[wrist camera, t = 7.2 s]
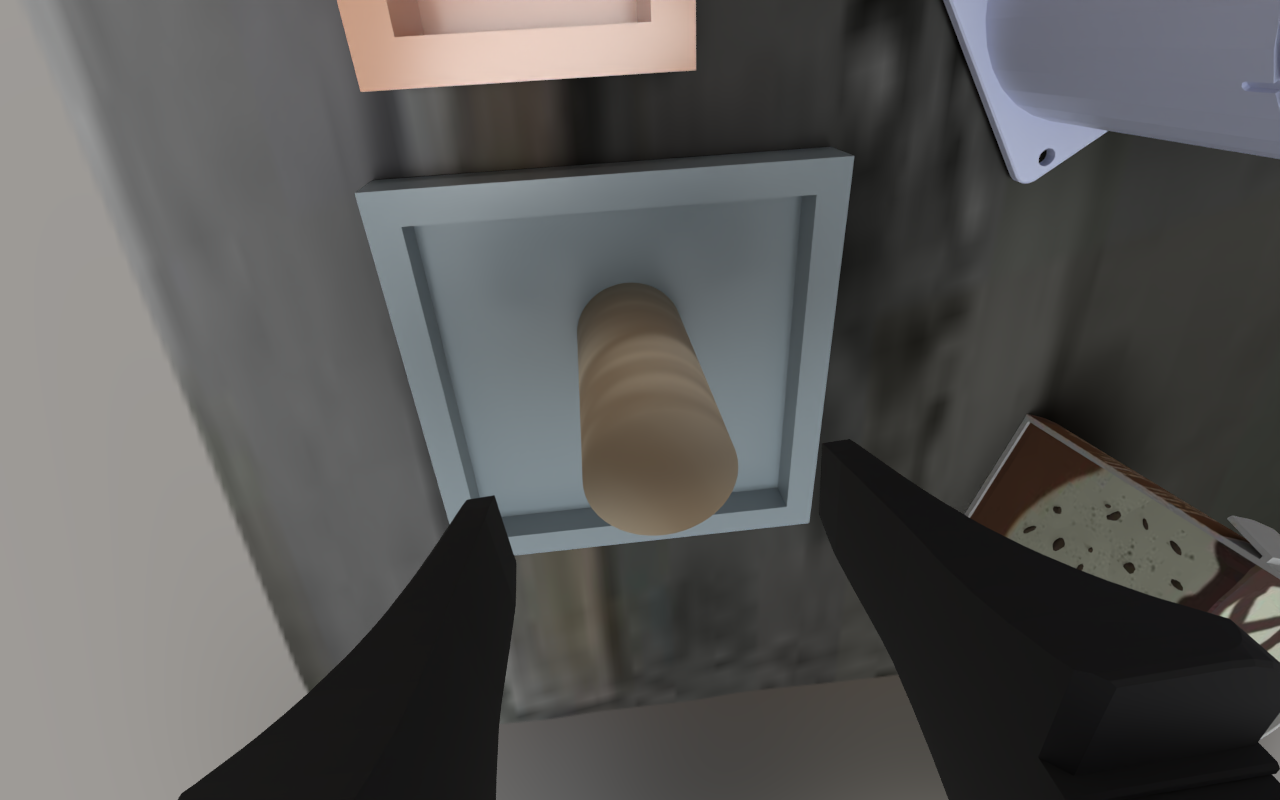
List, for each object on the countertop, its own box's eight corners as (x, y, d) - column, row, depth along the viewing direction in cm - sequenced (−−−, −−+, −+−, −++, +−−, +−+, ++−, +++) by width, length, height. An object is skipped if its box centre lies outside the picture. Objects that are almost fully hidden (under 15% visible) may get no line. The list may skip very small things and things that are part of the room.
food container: (1018, 603, 31) (1186, 813, 23) (914, 594, 30) (1050, 812, 22) (1168, 403, 25) (1470, 585, 17) (1046, 382, 24) (1305, 568, 16)
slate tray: (830, 146, 19) (854, 155, 17) (794, 494, 26) (809, 522, 24) (372, 180, 18) (354, 192, 16) (466, 529, 25) (460, 561, 24)
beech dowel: (633, 260, 19) (669, 379, 13) (702, 333, 21) (768, 474, 14) (554, 332, 20) (549, 480, 14) (627, 397, 22) (654, 557, 15)
